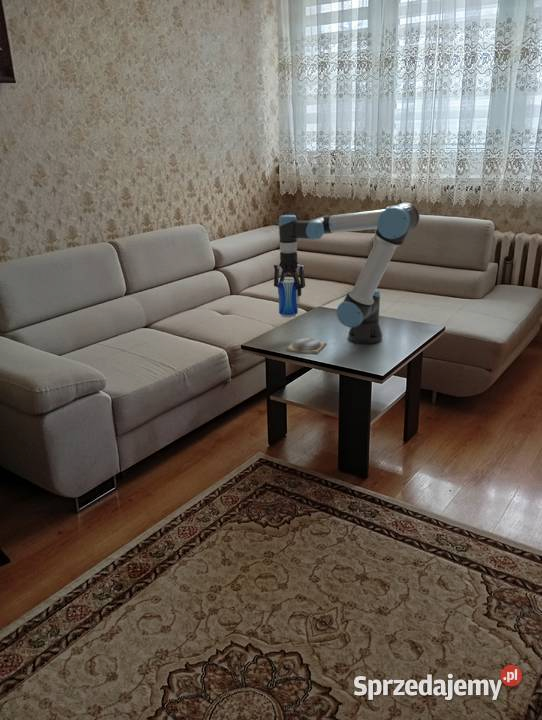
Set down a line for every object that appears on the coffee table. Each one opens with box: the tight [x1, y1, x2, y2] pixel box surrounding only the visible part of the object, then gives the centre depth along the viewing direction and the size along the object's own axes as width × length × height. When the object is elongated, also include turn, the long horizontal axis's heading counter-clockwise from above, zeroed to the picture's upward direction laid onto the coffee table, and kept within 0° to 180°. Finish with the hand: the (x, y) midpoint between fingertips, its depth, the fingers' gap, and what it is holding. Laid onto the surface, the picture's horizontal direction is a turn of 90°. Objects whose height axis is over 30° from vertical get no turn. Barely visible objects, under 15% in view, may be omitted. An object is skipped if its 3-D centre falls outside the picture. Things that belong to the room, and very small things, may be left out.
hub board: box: [286, 337, 327, 355], centre depth 266 cm, size 14×12×2 cm
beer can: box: [278, 278, 299, 318], centre depth 273 cm, size 8×8×16 cm
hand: (290, 302), depth 274 cm, fingers closed on beer can, 7 cm apart
